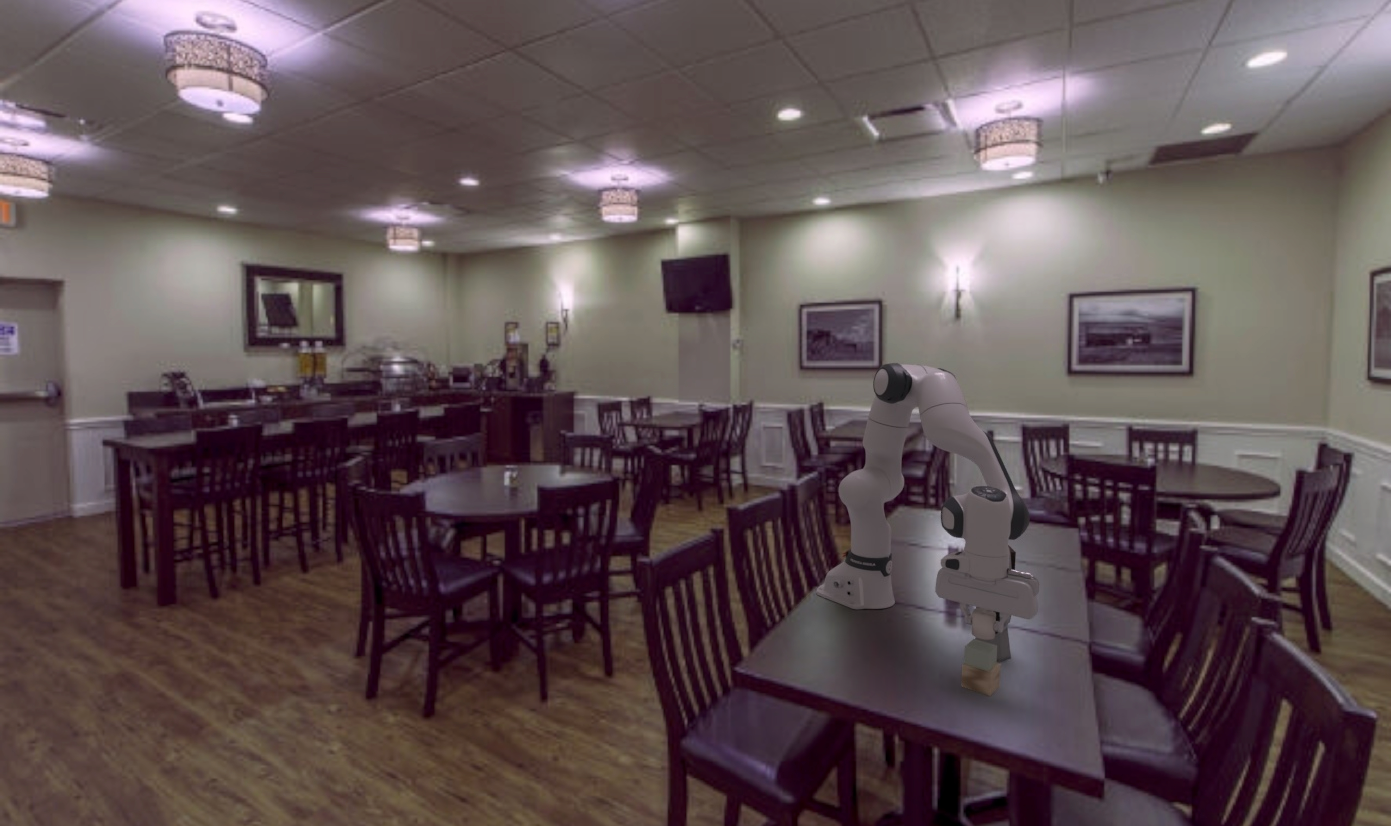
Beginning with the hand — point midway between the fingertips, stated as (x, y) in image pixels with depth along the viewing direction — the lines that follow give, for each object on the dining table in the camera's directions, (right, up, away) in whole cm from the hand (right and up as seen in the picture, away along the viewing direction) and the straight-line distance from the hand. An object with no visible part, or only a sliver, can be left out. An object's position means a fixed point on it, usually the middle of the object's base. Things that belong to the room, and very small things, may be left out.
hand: (983, 627), depth 141 cm
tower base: (0, -13, +1) cm, 13 cm away
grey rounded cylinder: (0, -2, 0) cm, 2 cm away
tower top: (0, -8, +1) cm, 8 cm away
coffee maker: (+9, -12, +16) cm, 22 cm away
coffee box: (+26, -9, +49) cm, 56 cm away
